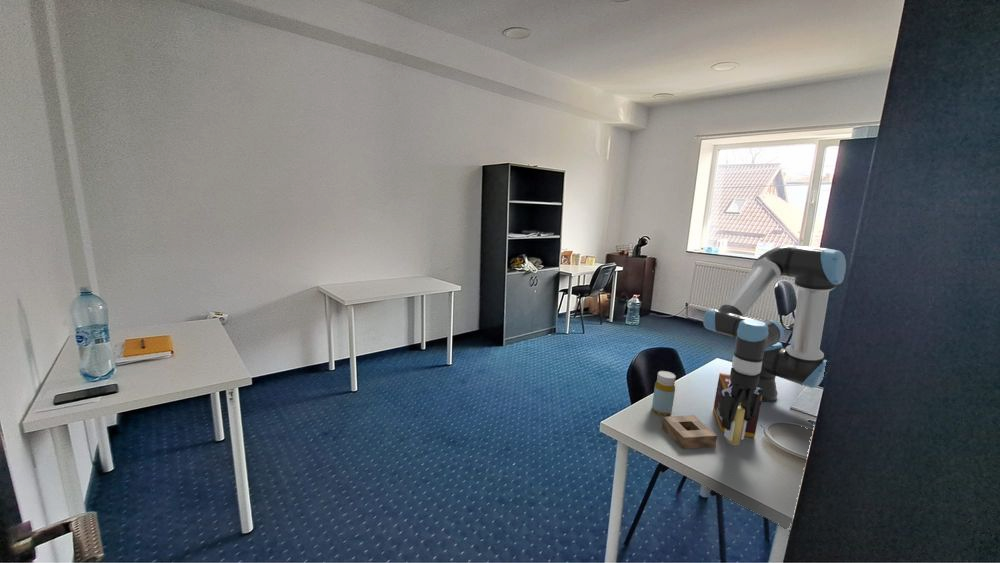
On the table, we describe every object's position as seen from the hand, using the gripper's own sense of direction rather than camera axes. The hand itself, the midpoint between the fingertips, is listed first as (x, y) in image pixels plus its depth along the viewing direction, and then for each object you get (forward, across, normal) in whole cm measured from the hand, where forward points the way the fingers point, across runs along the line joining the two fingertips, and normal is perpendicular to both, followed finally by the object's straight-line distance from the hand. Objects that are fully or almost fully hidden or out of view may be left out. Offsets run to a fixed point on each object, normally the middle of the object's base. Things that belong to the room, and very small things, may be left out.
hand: (733, 437), depth 123 cm
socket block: (+5, +10, -9) cm, 14 cm away
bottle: (+5, +10, -25) cm, 27 cm away
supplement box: (+6, -12, -15) cm, 20 cm away
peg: (+2, 0, 0) cm, 2 cm away
